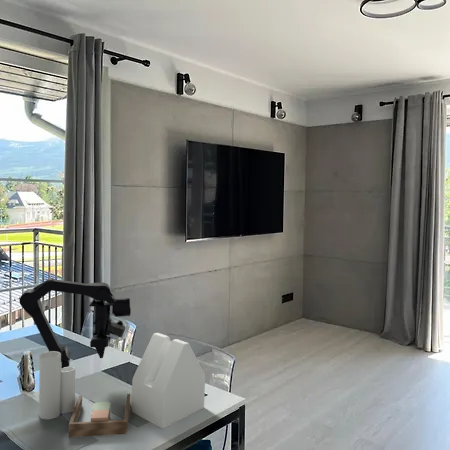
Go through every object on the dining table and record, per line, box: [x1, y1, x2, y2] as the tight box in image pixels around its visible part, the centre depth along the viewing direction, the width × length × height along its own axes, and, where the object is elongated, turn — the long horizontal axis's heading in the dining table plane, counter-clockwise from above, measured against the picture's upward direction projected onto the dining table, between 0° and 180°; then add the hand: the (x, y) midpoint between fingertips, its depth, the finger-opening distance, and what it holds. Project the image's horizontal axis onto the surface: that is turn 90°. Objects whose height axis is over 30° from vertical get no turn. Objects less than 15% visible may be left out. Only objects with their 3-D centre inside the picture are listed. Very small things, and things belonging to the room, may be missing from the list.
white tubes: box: [38, 350, 76, 420], centre depth 146 cm, size 11×7×20 cm, turn 140°
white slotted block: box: [131, 332, 206, 429], centre depth 150 cm, size 19×15×25 cm
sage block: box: [92, 401, 111, 421], centre depth 142 cm, size 5×5×5 cm
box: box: [68, 393, 131, 438], centre depth 143 cm, size 17×19×4 cm
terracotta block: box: [90, 409, 110, 422], centre depth 137 cm, size 5×5×5 cm
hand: (101, 357), depth 167 cm, fingers closed
